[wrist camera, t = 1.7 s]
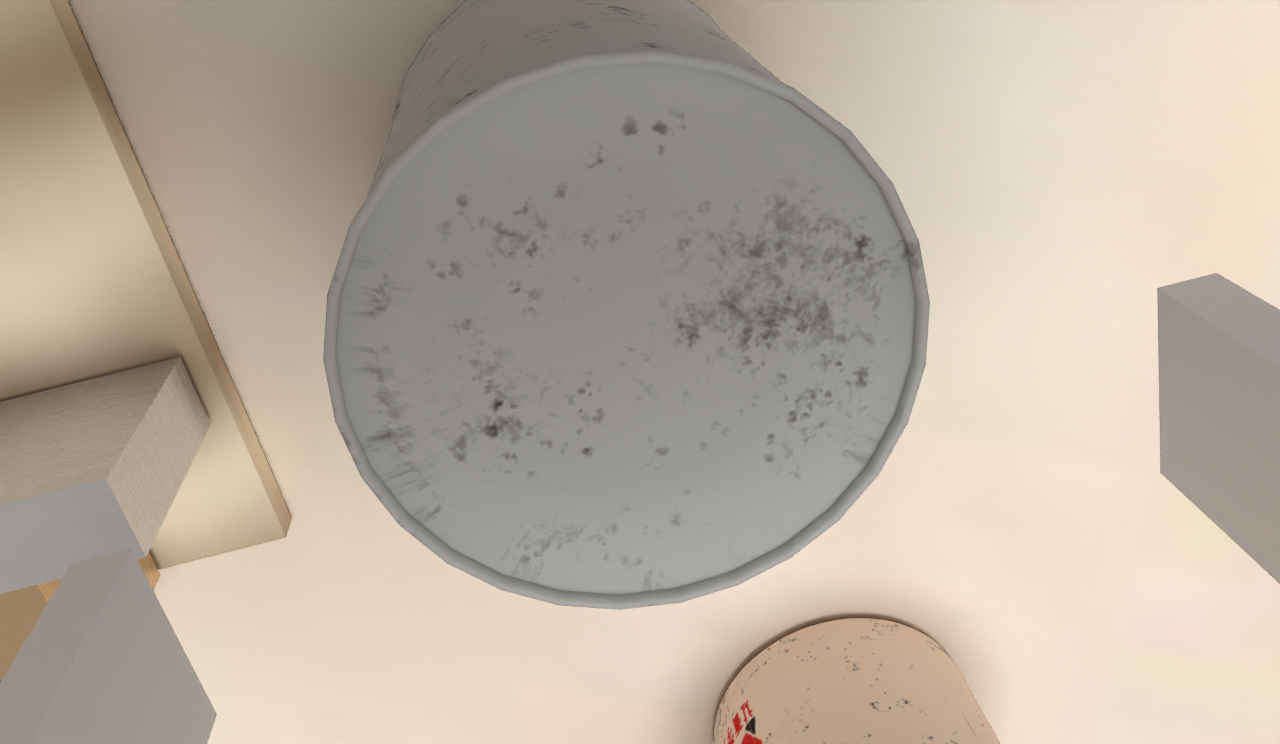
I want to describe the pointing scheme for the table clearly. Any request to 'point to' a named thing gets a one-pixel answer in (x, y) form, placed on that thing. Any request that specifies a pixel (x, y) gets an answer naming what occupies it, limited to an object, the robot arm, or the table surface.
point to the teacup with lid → (852, 690)
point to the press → (108, 277)
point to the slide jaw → (88, 480)
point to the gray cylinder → (619, 307)
